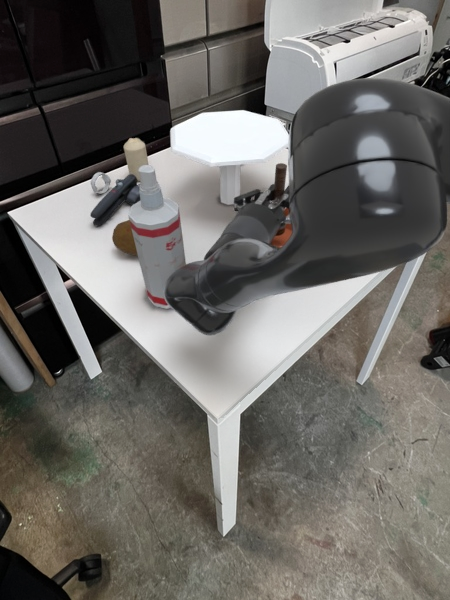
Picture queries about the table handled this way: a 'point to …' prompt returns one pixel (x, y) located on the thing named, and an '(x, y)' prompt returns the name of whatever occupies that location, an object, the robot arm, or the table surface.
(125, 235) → the potato
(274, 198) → the stirrer
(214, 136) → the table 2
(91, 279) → the table surface
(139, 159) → the candle
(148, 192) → the spray bottle
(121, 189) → the can opener
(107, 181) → the wristwatch
